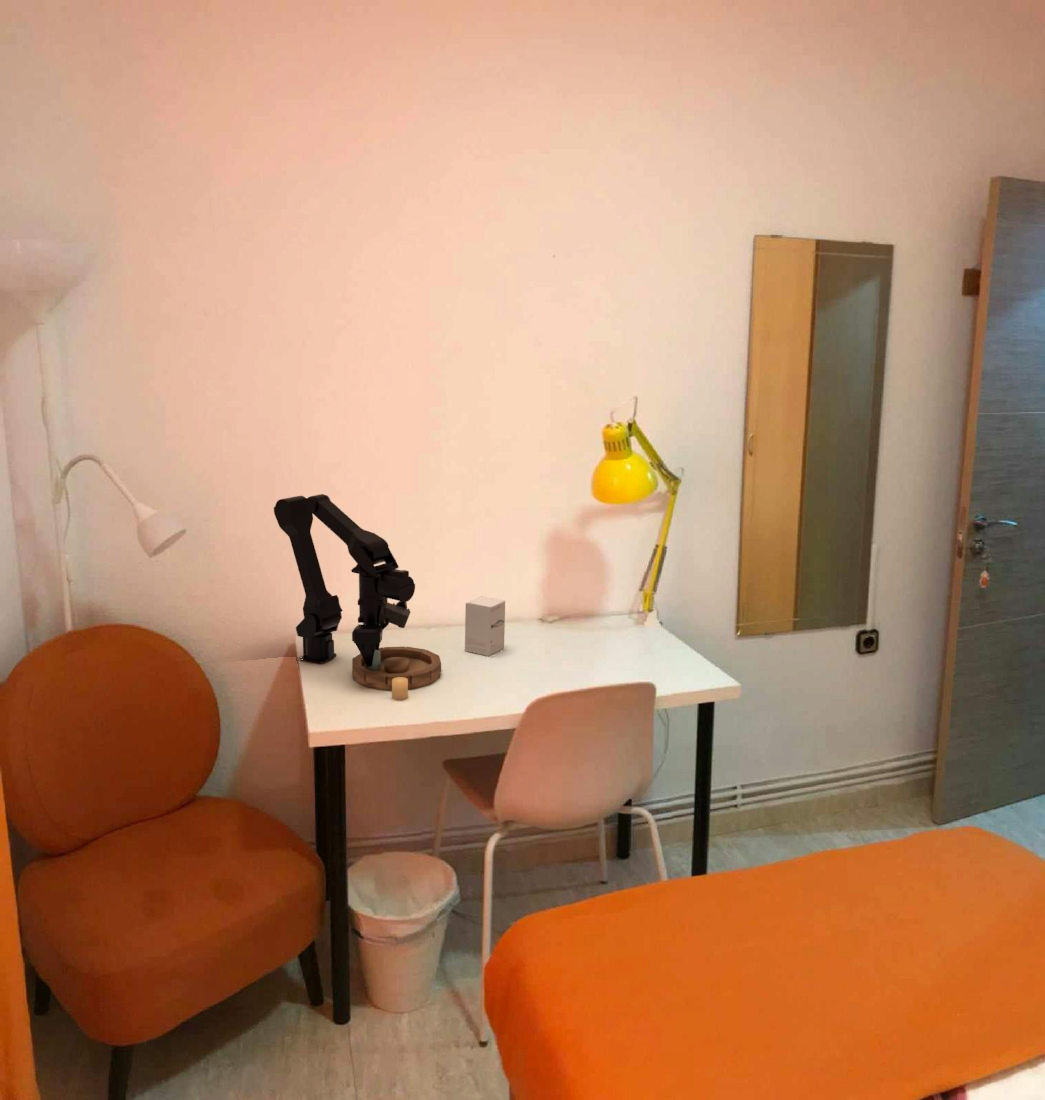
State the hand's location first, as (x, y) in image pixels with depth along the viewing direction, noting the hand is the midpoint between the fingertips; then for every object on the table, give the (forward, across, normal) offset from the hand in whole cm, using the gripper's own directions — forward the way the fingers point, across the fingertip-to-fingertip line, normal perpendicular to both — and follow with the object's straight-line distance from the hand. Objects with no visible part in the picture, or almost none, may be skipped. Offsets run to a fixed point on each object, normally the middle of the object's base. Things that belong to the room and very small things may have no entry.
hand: (372, 659), depth 228 cm
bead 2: (+4, -14, -8) cm, 16 cm away
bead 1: (+2, 0, 0) cm, 2 cm away
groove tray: (+4, 0, -6) cm, 7 cm away
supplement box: (+4, +18, -25) cm, 31 cm away
